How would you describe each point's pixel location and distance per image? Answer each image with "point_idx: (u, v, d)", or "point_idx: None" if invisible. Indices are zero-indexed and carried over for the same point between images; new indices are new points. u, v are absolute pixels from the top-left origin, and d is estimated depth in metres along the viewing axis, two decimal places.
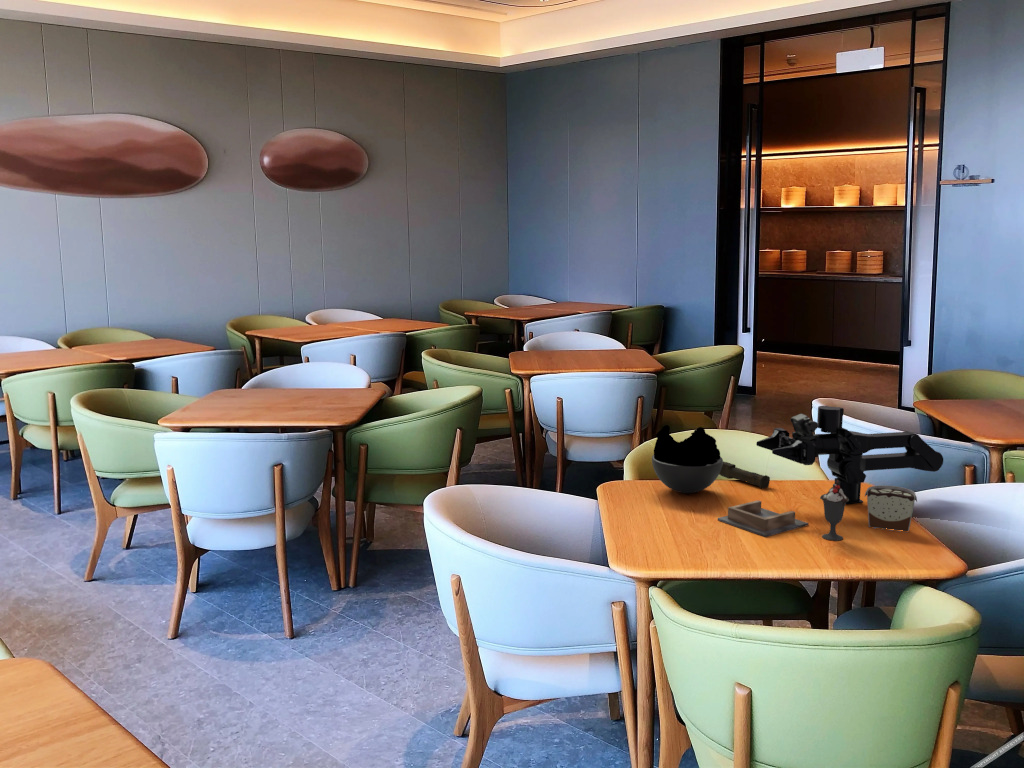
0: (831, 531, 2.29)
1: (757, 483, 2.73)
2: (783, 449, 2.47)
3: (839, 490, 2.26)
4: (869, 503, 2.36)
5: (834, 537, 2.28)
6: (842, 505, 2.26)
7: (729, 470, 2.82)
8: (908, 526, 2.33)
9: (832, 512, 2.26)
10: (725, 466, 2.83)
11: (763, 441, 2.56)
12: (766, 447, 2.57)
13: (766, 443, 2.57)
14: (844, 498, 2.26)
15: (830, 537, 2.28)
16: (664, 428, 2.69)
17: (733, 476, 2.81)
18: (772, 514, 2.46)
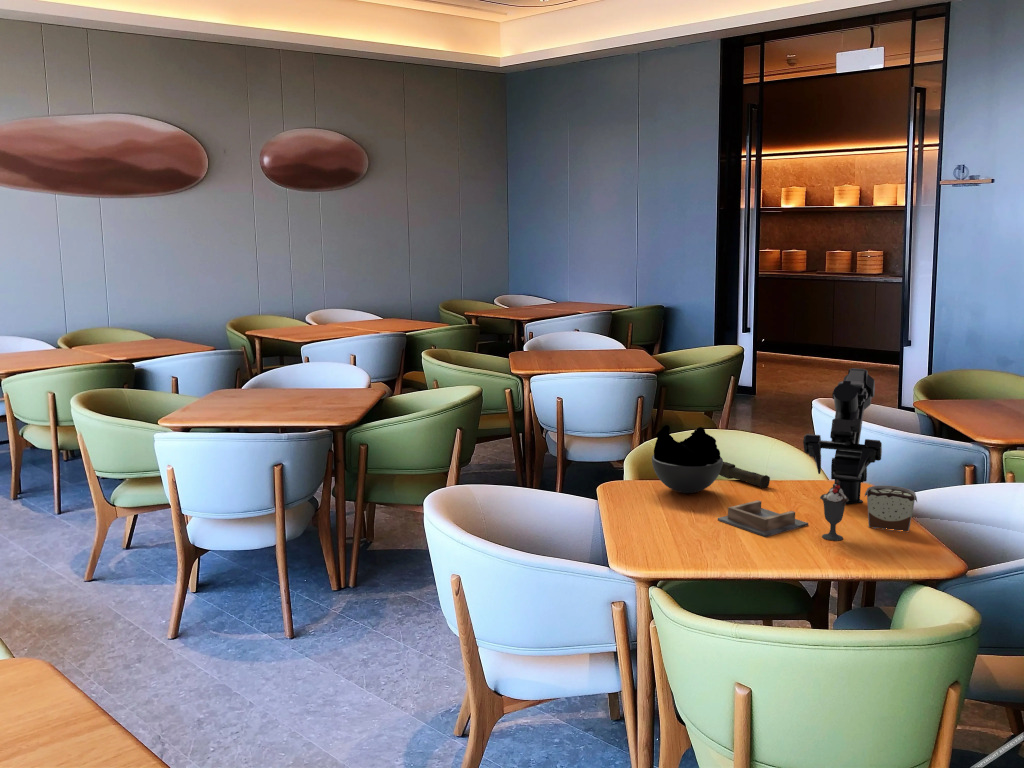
0: (831, 531, 2.29)
1: (757, 483, 2.73)
2: (862, 467, 2.33)
3: (839, 490, 2.26)
4: (869, 503, 2.36)
5: (834, 537, 2.28)
6: (842, 505, 2.26)
7: (729, 470, 2.82)
8: (908, 526, 2.33)
9: (832, 512, 2.26)
10: (725, 466, 2.83)
11: (820, 465, 2.37)
12: None
13: (820, 463, 2.38)
14: (844, 498, 2.26)
15: (830, 537, 2.28)
16: (664, 428, 2.69)
17: (733, 476, 2.81)
18: (772, 514, 2.46)
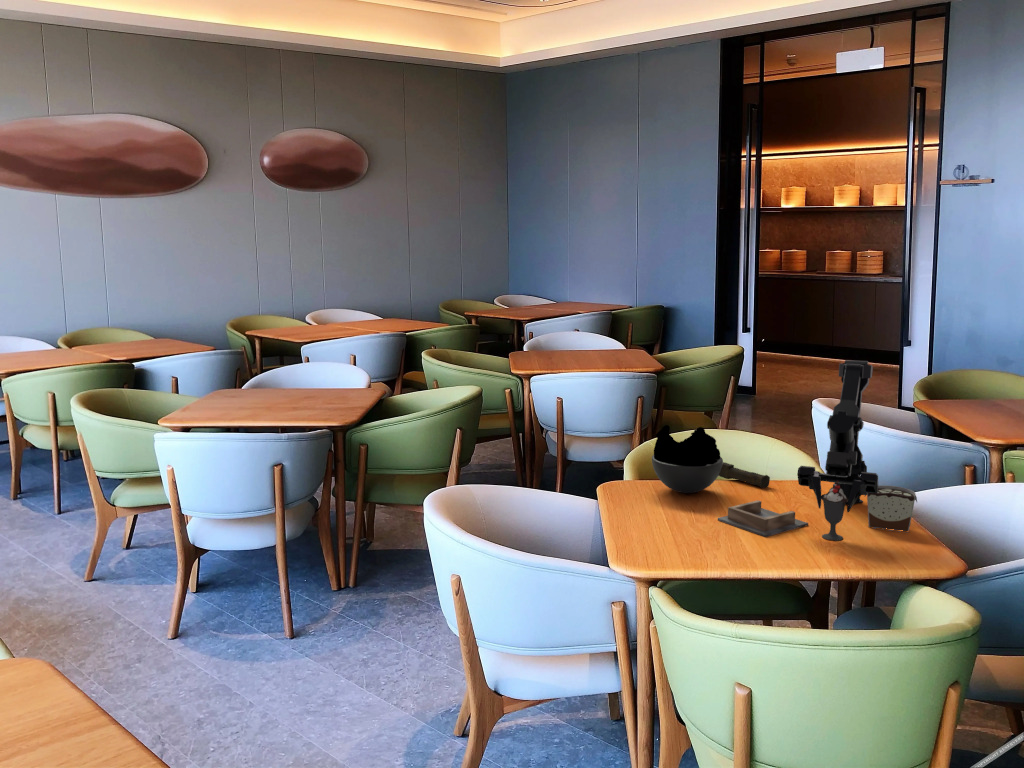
0: (831, 531, 2.29)
1: (757, 483, 2.73)
2: (853, 500, 2.26)
3: (839, 490, 2.26)
4: (869, 503, 2.36)
5: (834, 537, 2.28)
6: (842, 505, 2.26)
7: (728, 470, 2.81)
8: (908, 526, 2.33)
9: (832, 512, 2.26)
10: (723, 466, 2.83)
11: (820, 499, 2.29)
12: None
13: (820, 497, 2.30)
14: (844, 498, 2.26)
15: (830, 537, 2.28)
16: (664, 428, 2.69)
17: (732, 476, 2.80)
18: (772, 514, 2.46)
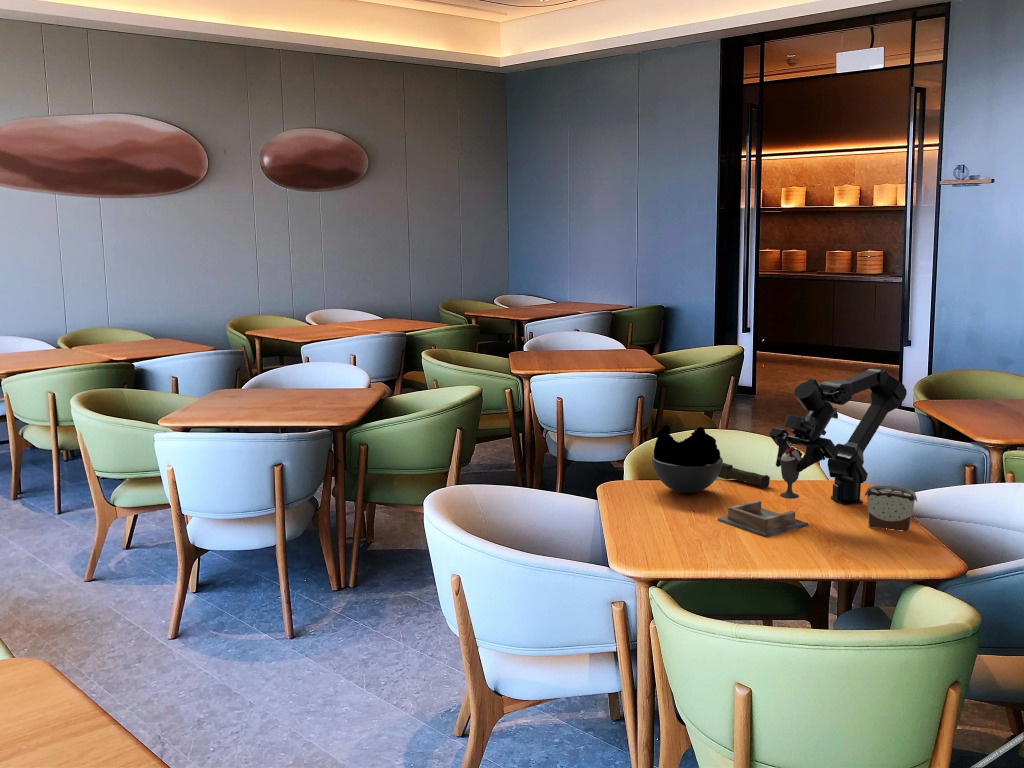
0: (787, 489, 2.45)
1: (758, 483, 2.73)
2: (804, 462, 2.40)
3: (792, 451, 2.41)
4: (869, 503, 2.36)
5: (787, 495, 2.44)
6: (793, 465, 2.41)
7: (727, 470, 2.81)
8: (908, 526, 2.33)
9: (784, 471, 2.43)
10: (722, 466, 2.82)
11: None
12: None
13: None
14: (797, 459, 2.41)
15: (784, 495, 2.44)
16: (664, 428, 2.69)
17: (731, 477, 2.80)
18: (772, 514, 2.46)
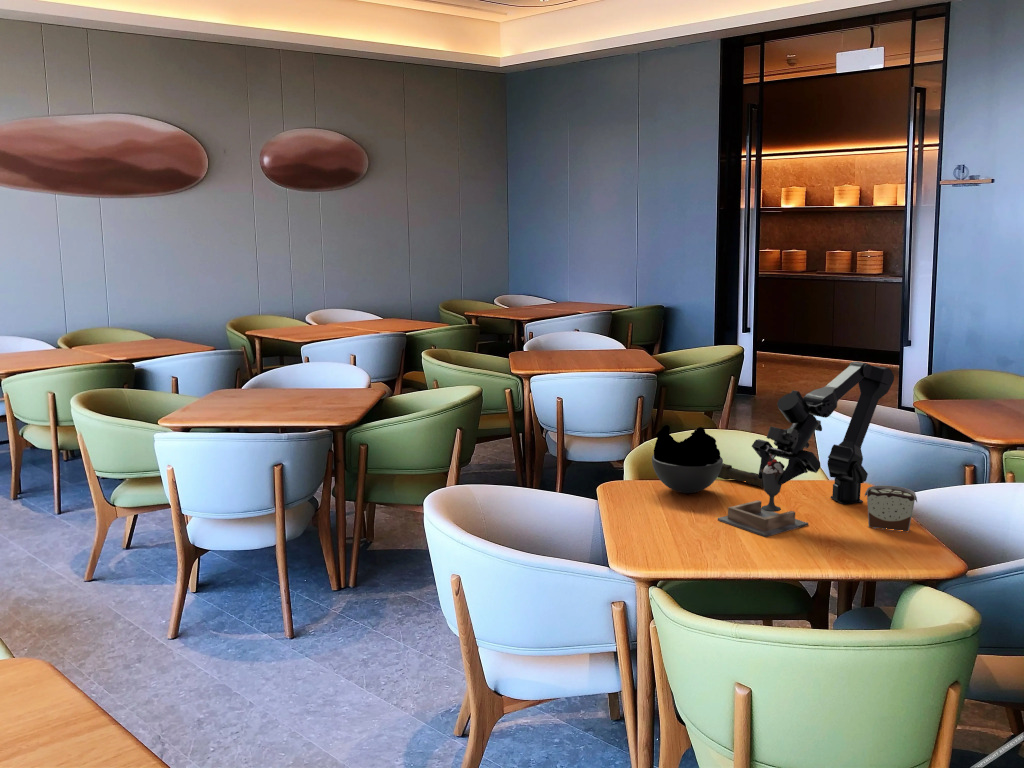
0: (769, 502, 2.42)
1: (758, 483, 2.73)
2: (786, 475, 2.37)
3: (774, 464, 2.39)
4: (869, 503, 2.36)
5: (769, 508, 2.41)
6: (774, 478, 2.38)
7: (726, 471, 2.81)
8: (908, 526, 2.33)
9: (766, 483, 2.40)
10: None
11: None
12: None
13: None
14: (779, 472, 2.38)
15: (766, 507, 2.41)
16: (664, 428, 2.69)
17: (731, 477, 2.80)
18: (772, 514, 2.46)
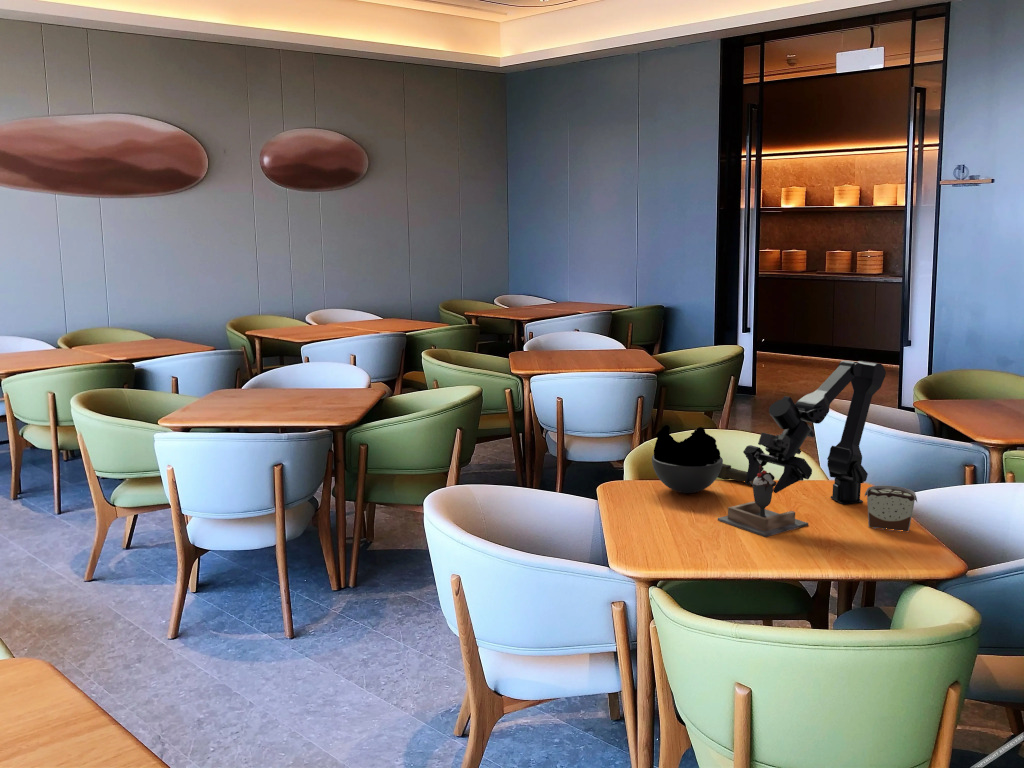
0: (760, 514, 2.41)
1: None
2: (781, 483, 2.34)
3: (764, 475, 2.38)
4: (869, 503, 2.36)
5: None
6: (764, 489, 2.37)
7: (726, 471, 2.80)
8: (908, 526, 2.33)
9: (756, 495, 2.39)
10: None
11: (749, 476, 2.43)
12: (754, 477, 2.44)
13: (752, 475, 2.43)
14: (769, 483, 2.37)
15: None
16: (664, 428, 2.69)
17: (730, 477, 2.80)
18: (772, 514, 2.46)
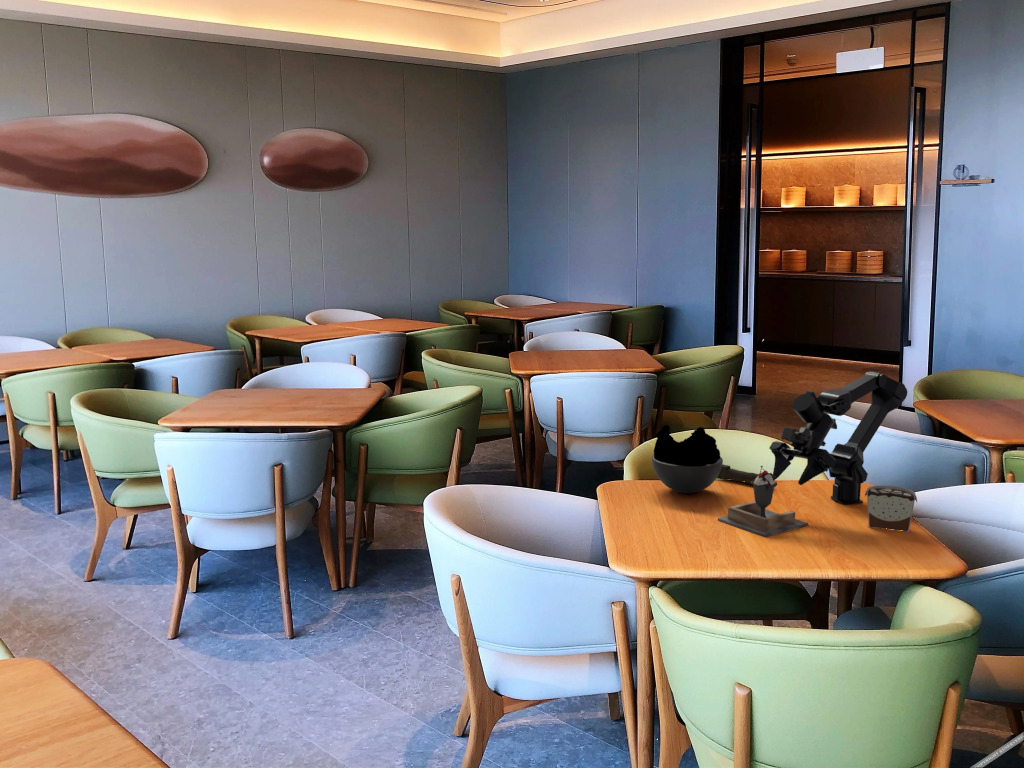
0: (760, 514, 2.41)
1: None
2: (805, 474, 2.40)
3: (765, 475, 2.38)
4: (869, 503, 2.36)
5: None
6: (765, 490, 2.37)
7: (725, 471, 2.80)
8: (908, 526, 2.33)
9: (757, 495, 2.39)
10: None
11: (776, 471, 2.48)
12: (781, 472, 2.49)
13: (779, 469, 2.49)
14: (769, 483, 2.37)
15: None
16: (664, 428, 2.69)
17: (730, 477, 2.79)
18: (772, 514, 2.46)
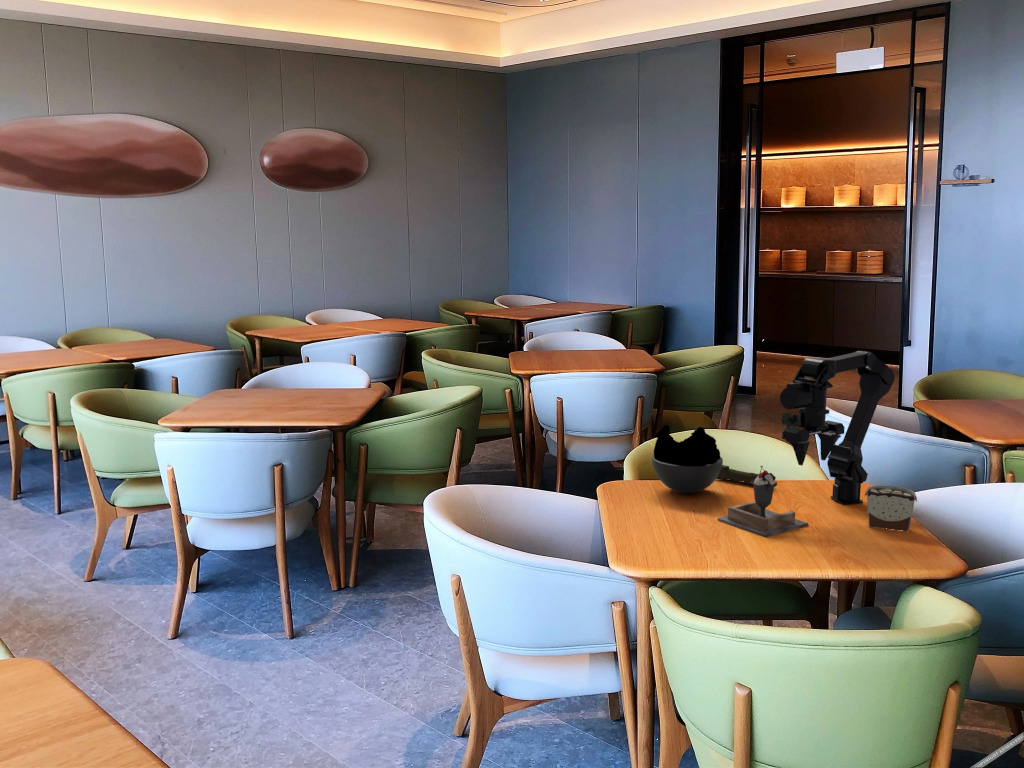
0: (760, 514, 2.41)
1: None
2: (796, 455, 2.47)
3: (765, 475, 2.38)
4: (869, 503, 2.36)
5: None
6: (765, 490, 2.37)
7: (724, 472, 2.80)
8: (908, 526, 2.33)
9: (757, 495, 2.39)
10: None
11: (821, 452, 2.52)
12: (827, 450, 2.51)
13: (823, 449, 2.52)
14: (770, 484, 2.37)
15: None
16: (664, 428, 2.69)
17: (729, 478, 2.79)
18: (772, 514, 2.46)
